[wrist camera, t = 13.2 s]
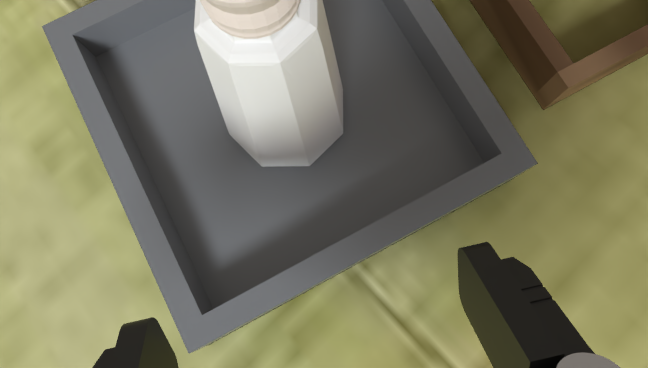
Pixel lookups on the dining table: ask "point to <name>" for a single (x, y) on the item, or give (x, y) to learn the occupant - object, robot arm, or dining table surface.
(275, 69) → the salt shaker
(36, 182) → the dining table surface
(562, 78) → the collar
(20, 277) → the dining table surface
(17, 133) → the dining table surface
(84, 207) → the dining table surface
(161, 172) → the tray
